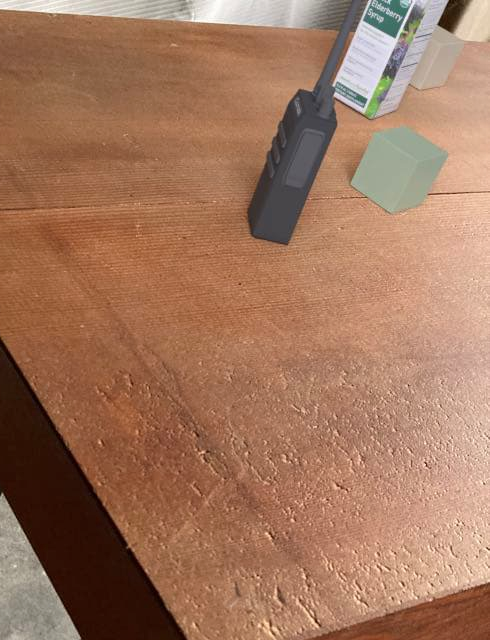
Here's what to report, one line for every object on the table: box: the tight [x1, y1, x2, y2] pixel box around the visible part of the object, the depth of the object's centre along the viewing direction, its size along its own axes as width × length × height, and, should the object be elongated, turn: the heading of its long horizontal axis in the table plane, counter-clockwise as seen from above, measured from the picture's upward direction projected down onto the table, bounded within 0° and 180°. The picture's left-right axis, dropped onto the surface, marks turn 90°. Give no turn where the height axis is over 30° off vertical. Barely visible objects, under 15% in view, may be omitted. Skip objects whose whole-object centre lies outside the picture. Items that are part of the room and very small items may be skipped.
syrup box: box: [331, 0, 449, 120], centre depth 97 cm, size 6×6×14 cm
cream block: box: [408, 24, 466, 91], centre depth 110 cm, size 5×5×5 cm
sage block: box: [349, 125, 450, 215], centre depth 87 cm, size 5×5×5 cm
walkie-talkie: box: [247, 0, 364, 246], centre depth 72 cm, size 5×3×20 cm
